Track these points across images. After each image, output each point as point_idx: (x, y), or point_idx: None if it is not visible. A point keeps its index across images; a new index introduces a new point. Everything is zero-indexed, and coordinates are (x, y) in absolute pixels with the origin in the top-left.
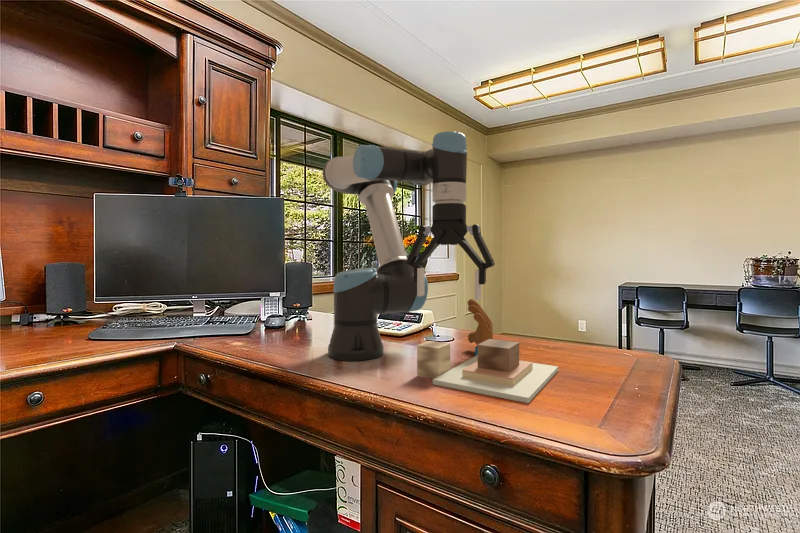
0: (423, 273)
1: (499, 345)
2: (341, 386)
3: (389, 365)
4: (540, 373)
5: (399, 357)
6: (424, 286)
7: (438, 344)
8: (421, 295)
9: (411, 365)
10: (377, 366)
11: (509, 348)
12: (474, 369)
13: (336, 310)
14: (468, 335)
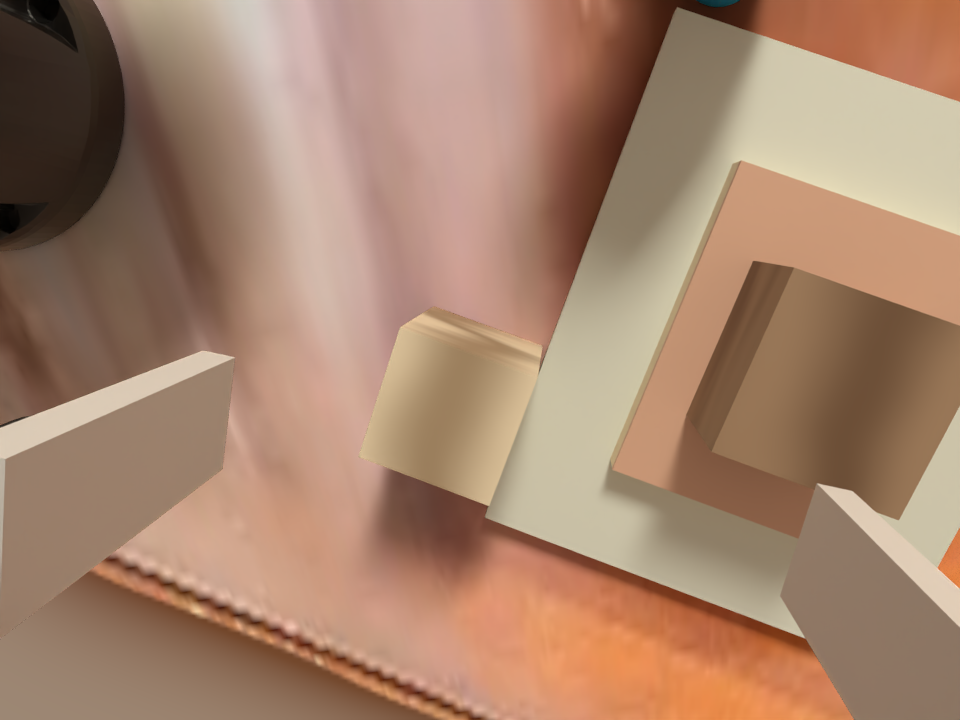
0: (71, 474)
1: (848, 449)
2: (155, 588)
3: (227, 272)
4: None
5: (226, 102)
6: (185, 380)
7: (472, 414)
8: (223, 439)
9: (331, 247)
10: (180, 302)
11: (902, 512)
12: (671, 453)
13: None
14: None
